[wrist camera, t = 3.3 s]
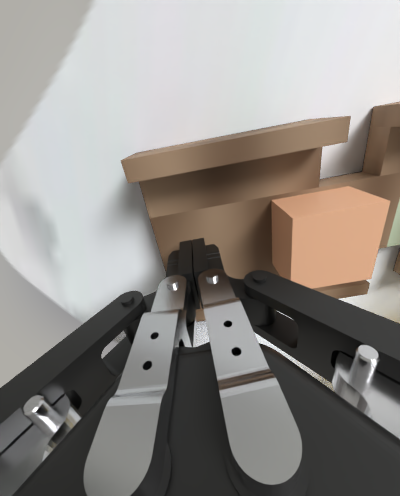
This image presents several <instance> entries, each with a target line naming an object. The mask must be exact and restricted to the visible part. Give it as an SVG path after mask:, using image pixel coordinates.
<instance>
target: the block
mask: <svg viewBox="0 0 400 496" xmlns="http://www.w3.org/2000/svg"><path fill="white" fill-rule="evenodd" d="M389 205H390V201H389V200H386V199H383V198H381V197H378V196H375V195H372V194H369V193H367V192H364V191H361V190H358V189H355V188H353V187H350V186H346V187H341V188H335V189H330V190H324V191H319V192H313V193H308V194H303V195H297V196H292V197H286V198H281V199H275V200H271V208H272V264H273V265H274V267H275V269H276V270H277V272H278V273H279V275H280V276H281V277H283V278H286V279H288V280H291V281H293V282H296V283H298V284H301V285H303V286H306V287H308V288H311V289H313V288H319V287H325V286H331V285H337V284H343V283H349V282H355V281H361V280H367V279H371V277H372V273H373V269H374V265H375V261H376V257H377V253H378V249H379V245H380V241H381V237H382V233H383V229H384V225H385V221H386V217H387V213H388V209H389Z"/></svg>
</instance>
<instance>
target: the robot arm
mask: <svg viewBox="0 0 400 496" xmlns="http://www.w3.org/2000/svg"><path fill="white" fill-rule="evenodd" d="M200 303H201V307H202V309H204V314H205V319H206V324H207V329H208V335H209V340H210V342H208V343H206V344H203V345H201V346H198V347H196V327H197V321H196V310H197V309H201V307H200ZM276 310H277V311H279V312H281V313H283V314H285V315H287V316H289V317H290V318H292V319H293V320H292V319H290V318H288V317H287V316H285V315H283V314H281V313H279V312H277V311H276ZM123 330H124V332H125V334H126V337H125V338H124V339H123V340H122V341H121V342H120V343H119V344H117V345H116V346H115V347H114V348H113V349H112V350H111V351H110V352H109V353H108V354H107V355H106V356H105V357H104V358H103V359H102V358H101V354H102V351H103V349H104V348H105V347H106V346H107V345H108V344H109V343H110V342H111V341H112V340H113V339H114V338H115V337H117V336H118V335H119V334H120V333H121V332H122V331H123ZM254 332H255V333H257V334H258V335H260V336H261V337H263V338H264V339H266V340H267V341H269V342H270V343H272V344H273V345H275V346H276V347H278V348H279V349H281V350H282V351H284V352H285V353H287V354H288V355H290V356H292V357H293V358H295V359H296V360H298V361H299V362H301V363H302V364H304V365H305V366H307V367H308V368H310V369H311V370H313V371H314V372H316V373H317V374H319V375H320V376H322V377H323V378H325V379H327V380H328V381H330V382H331V383H332V385H333V389H334V391H335V392H333V391H332V390H331V389H329V388H328V387H327V386H325V385H324V384H322V383H321V382H320V381H318V380H317V379H315V378H314V377H313V376H311V375H310V374H308V373H307V372H306V371H304V370H303V369H301V368H300V367H299V366H297V365H296V364H294V363H293V362H292V361H290V360H289V359H287V358H286V357H285V356H283V355H282V354H280V353H279V352H277V351H276V350H274V349H272V348H270V347H268V346H266V345H263V344H260V343H258V341H257V338H256V336H255V334H254ZM0 496H400V324H399V323H397V322H394V321H391V320H389V319H386V318H384V317H381V316H379V315H376V314H374V313H371V312H369V311H366V310H364V309H361V308H359V307H356V306H354V305H351V304H349V303H346V302H344V301H341V300H339V299H336V298H334V297H331V296H329V295H326V294H324V293H321V292H318V291H316V290H313V289H311V288H308V287H306V286H303V285H301V284H298V283H296V282H293V281H291V280H288V279H286V278H283V277H281V276H278V275H276V274H273V273H271V272H268V271H264V270H256V271H252V272H249V273H248V274H246V276H245V277H244V279H236V278H232V277H230V276H228V275H227V274H226V273H225V271H224V267H223V264H222V260H221V256H220V252H219V248H218V247H217V246H216V245H215V244H210V245H205V241H204V238H199V239H193V240H188V241H182V242H180V244H179V250H176V251H172V252H171V254H170V255H169V256H168V263H167V270H166V277H165V279H163V280H162V281H161V282H160V284H159V286H158V289H157V291H156V292H154V293H152V294H149V295H147V296H144V297H143V295H142V293H140V292H138V291H130V292H126V293H124V294H122V295H120V296H119V297H118V298H116V299H115V300H114V301H112V302H111V303H110V304H109V305H107V306H106V307H105V308H103V309H102V310H101V311H100V312H98V313H97V314H96V315H94V316H93V317H92V318H90V319H89V320H88V321H87V322H85V323H84V324H83V325H81V326H80V327H79V328H78V329H76V330H75V331H74V332H72V333H71V334H70V335H68V336H67V337H66V338H65V339H63V340H62V341H61V342H59V343H58V344H57V345H56V346H54V347H53V348H52V349H50V350H49V351H48V352H47V353H45V354H44V355H43V356H41V357H40V358H39V359H37V360H36V361H35V362H34V363H32V364H31V365H30V366H28V367H27V368H26V369H25V370H23V371H22V372H21V373H19V374H18V375H17V376H15V377H14V378H13V379H12V380H10V381H9V382H8V383H6V384H5V385H4V386H2V387H1V388H0Z"/></svg>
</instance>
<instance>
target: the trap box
mask: <svg viewBox="0 0 400 496" xmlns="http://www.w3.org/2000/svg"><path fill="white" fill-rule="evenodd" d="M350 118H351V116H345V117H332V118H318V119H308V120H303V121H298V122H293V123H288V124H283V125H277V126H272V127H267V128H262V129H257V130H252V131H247V132H241V133H236V134H231V135H226V136H221V137H216V138H211V139H205V140H200V141H195V142H190V143H185V144H180V145H175V146H169V147H164V148H159V149H154V150H149V151H144V152H139V153H135V154H133V155H131V156H129V157H127V158H125V159H123V160H121V163H122V166H123V169H124V172H125V175H126V179H127V182H128V183H133V182H138V181H139V184H140V188H141V191H142V194H143V198H144V201H145V204H146V208H147V211H148V214H149V218H150V221H151V224H152V228H153V231H154V234H155V238H156V241H157V244H158V248H159V251H160V254H161V257H162V261H163V264H164V267H165V271H166V270H167V263H168V256H169V255H170V254H171V252H172V251H176V250H179V244H180V242H182V241H188V240H193V239H199V238H204V241H205V245H210V244H215V245H216V246H217V247H218V248H219V252H220V256H221V260H222V264H223V267H224V271H225V273H226V274H227V275H228V276H230V277H232V278H236V279H244V277H245V276H246V274H248V273H249V272H252V271H256V270H264V271H268V272H271V273H273V274H276V275H278V276H280V275H279V273H278V272H277V270H276V269H275V267H274V265H273V264H272V208H271V200H275V199H281V198H286V197H292V196H297V195H303V194H308V193H313V192H319V191H324V190H330V189H335V188H341V187H346V186H350V187H353V188H355V189H358V190H361V191H364V192H367V193H369V194H372V195H375V196H378V197H381V198H383V199H386V200H389V201H390V205H389V209H388V213H387V217H386V221H385V225H384V229H383V233H382V237H381V241H380V245H379V248H385V247H390V246H395V245H400V102H396V103H390V104H385V105H380V106H375V107H373V112H372V118H371V123H370V129H369V135H368V141H367V146H366V152H365V158H364V163H363V169H362V172H357V173H352V174H346V175H341V176H335V177H330V178H325V179H320V168H321V156H322V147H323V146H328V145H334V144H339V143H344V142H347V140H348V133H349V125H350ZM393 271H395V272H396V273H398V274H399V275H400V250H399V253H398V256H397V260H396V263H395V266H394V270H393ZM369 284H370V283H369V282H368V281H366V280H361V281H355V282H349V283H343V284H337V285H331V286H325V287H319V288H313V290H316V291H318V292H321V293H324V294H326V295H329V296H331V297H334V298H336V299H339V298H346V297H352V296H358V295H364V294H367V292H368V288H369ZM200 307H201V303H200ZM205 320H206V319H205V314H204V309H202V307H201V309H197V310H196V321H197V322H199V321H205Z"/></svg>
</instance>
